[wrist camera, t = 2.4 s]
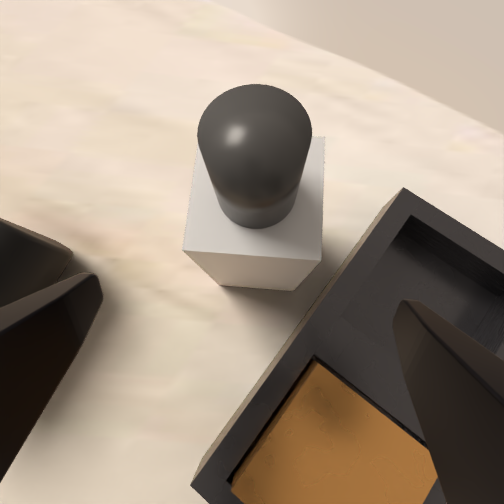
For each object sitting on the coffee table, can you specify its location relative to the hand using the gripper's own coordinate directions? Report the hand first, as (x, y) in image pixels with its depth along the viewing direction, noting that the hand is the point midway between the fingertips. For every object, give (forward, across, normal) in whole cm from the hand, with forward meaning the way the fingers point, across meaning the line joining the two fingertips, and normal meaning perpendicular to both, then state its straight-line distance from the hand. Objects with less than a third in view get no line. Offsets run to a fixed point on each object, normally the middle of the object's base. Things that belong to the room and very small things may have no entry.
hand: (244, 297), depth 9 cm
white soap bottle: (+11, 0, +5) cm, 12 cm away
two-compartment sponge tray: (+6, -7, +10) cm, 13 cm away
